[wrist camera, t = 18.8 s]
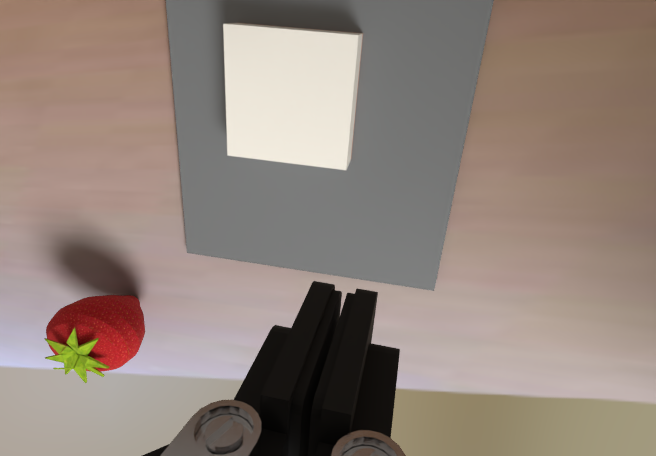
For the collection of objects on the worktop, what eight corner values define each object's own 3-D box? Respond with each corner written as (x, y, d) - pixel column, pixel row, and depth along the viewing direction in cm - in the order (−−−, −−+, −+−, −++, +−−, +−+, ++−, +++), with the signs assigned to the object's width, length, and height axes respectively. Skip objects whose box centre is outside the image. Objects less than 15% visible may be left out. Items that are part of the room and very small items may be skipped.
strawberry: (88, 265, 40) (-6, 337, 31) (166, 273, 39) (92, 351, 30) (102, 318, 43) (19, 399, 34) (176, 328, 42) (110, 414, 33)
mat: (519, -135, 23) (521, -138, 23) (433, 286, 35) (434, 290, 34) (158, -146, 26) (153, -149, 25) (190, 249, 37) (187, 252, 37)
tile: (358, 35, 25) (223, 23, 26) (346, 170, 29) (227, 155, 30) (363, 33, 27) (237, 22, 28) (351, 159, 31) (240, 145, 32)
